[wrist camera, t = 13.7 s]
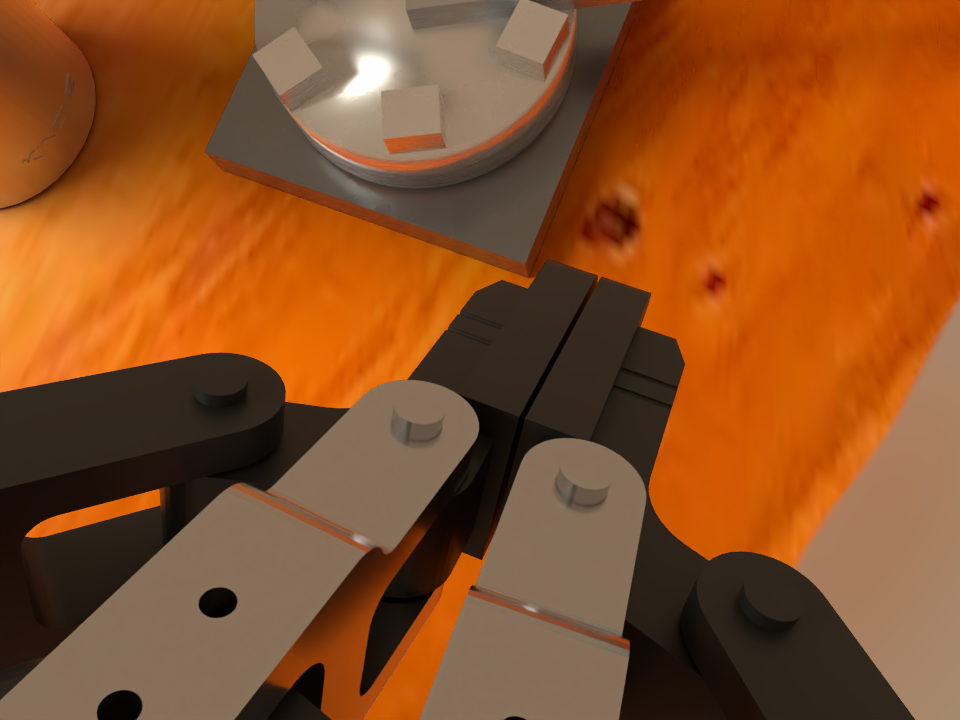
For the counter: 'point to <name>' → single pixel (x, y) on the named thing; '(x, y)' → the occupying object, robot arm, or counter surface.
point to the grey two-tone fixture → (419, 80)
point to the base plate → (442, 210)
